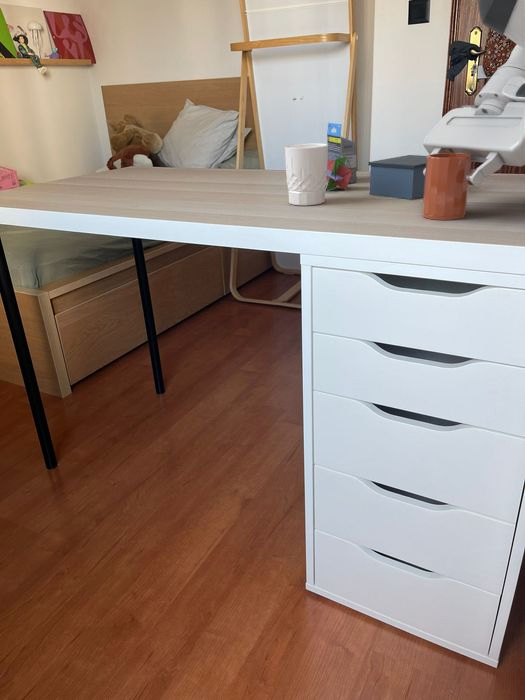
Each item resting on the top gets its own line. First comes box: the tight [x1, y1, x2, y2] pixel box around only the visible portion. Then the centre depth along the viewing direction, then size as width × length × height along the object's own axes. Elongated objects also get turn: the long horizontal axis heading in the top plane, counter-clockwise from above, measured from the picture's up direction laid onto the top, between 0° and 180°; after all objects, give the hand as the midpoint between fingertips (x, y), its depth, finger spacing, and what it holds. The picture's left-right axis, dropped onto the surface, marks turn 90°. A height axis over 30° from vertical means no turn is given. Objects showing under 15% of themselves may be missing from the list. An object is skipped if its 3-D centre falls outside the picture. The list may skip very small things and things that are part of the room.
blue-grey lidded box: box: [367, 154, 427, 200], centre depth 102 cm, size 13×11×6 cm
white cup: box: [283, 142, 328, 207], centre depth 97 cm, size 8×8×10 cm
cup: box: [421, 153, 473, 221], centre depth 81 cm, size 6×6×9 cm
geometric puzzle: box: [325, 156, 353, 192], centre depth 108 cm, size 7×7×8 cm
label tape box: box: [326, 121, 358, 184], centre depth 117 cm, size 9×4×12 cm, turn 13°
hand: (448, 179), depth 80 cm, fingers open, 8 cm apart
